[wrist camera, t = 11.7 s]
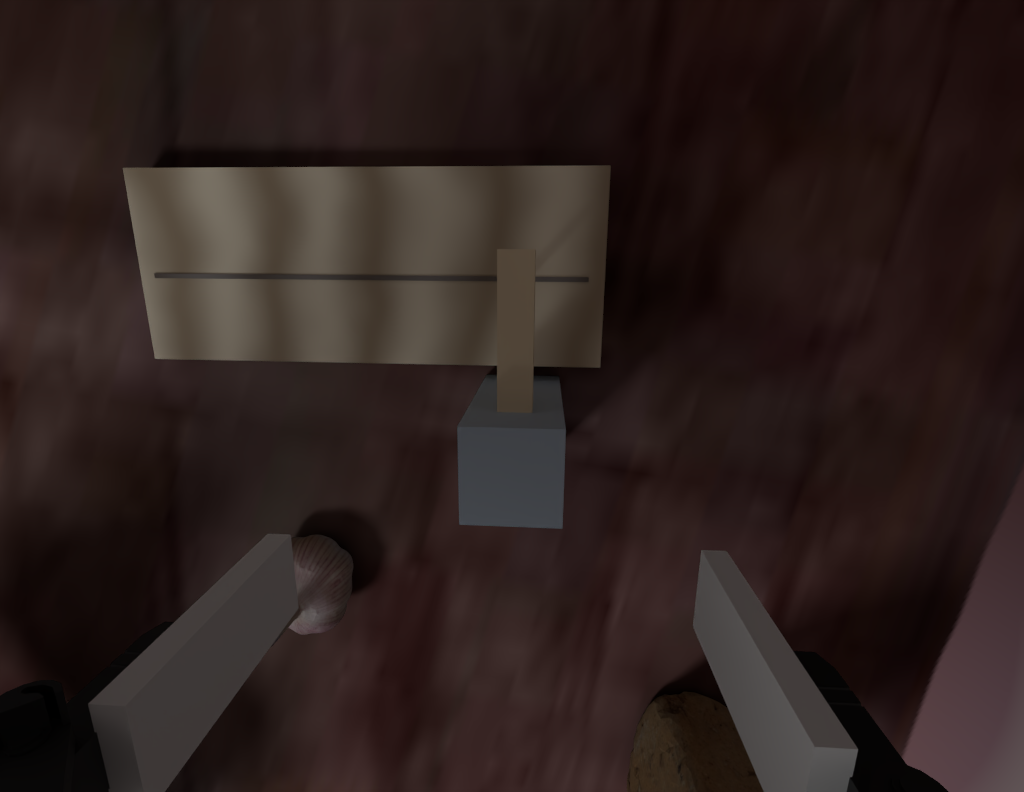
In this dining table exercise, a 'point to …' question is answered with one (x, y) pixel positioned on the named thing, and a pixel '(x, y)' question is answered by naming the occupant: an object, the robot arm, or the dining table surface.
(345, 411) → the dining table surface
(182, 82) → the dining table surface
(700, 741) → the stone
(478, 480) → the hammer
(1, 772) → the robot arm
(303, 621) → the garlic bulb
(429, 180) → the board
